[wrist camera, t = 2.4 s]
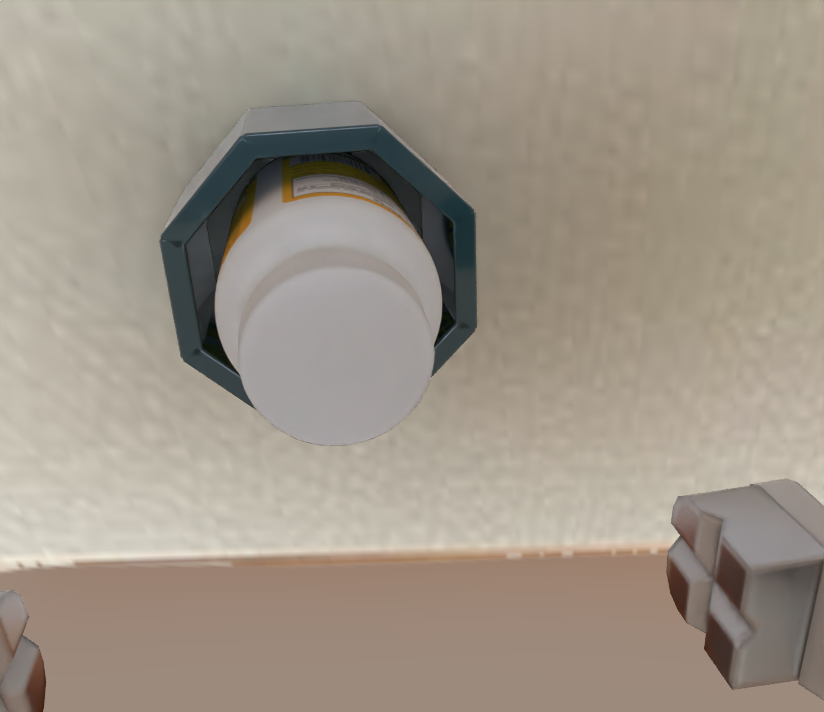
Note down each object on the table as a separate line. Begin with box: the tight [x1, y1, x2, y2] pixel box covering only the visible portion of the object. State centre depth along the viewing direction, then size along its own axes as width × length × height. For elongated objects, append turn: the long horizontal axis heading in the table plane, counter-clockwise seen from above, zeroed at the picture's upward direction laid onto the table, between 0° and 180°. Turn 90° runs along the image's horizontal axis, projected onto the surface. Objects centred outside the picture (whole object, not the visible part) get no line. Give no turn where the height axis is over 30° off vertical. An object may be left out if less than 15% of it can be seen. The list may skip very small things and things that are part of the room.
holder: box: [159, 101, 477, 409], centre depth 22 cm, size 8×8×5 cm
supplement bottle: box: [215, 152, 442, 446], centre depth 20 cm, size 5×5×10 cm
